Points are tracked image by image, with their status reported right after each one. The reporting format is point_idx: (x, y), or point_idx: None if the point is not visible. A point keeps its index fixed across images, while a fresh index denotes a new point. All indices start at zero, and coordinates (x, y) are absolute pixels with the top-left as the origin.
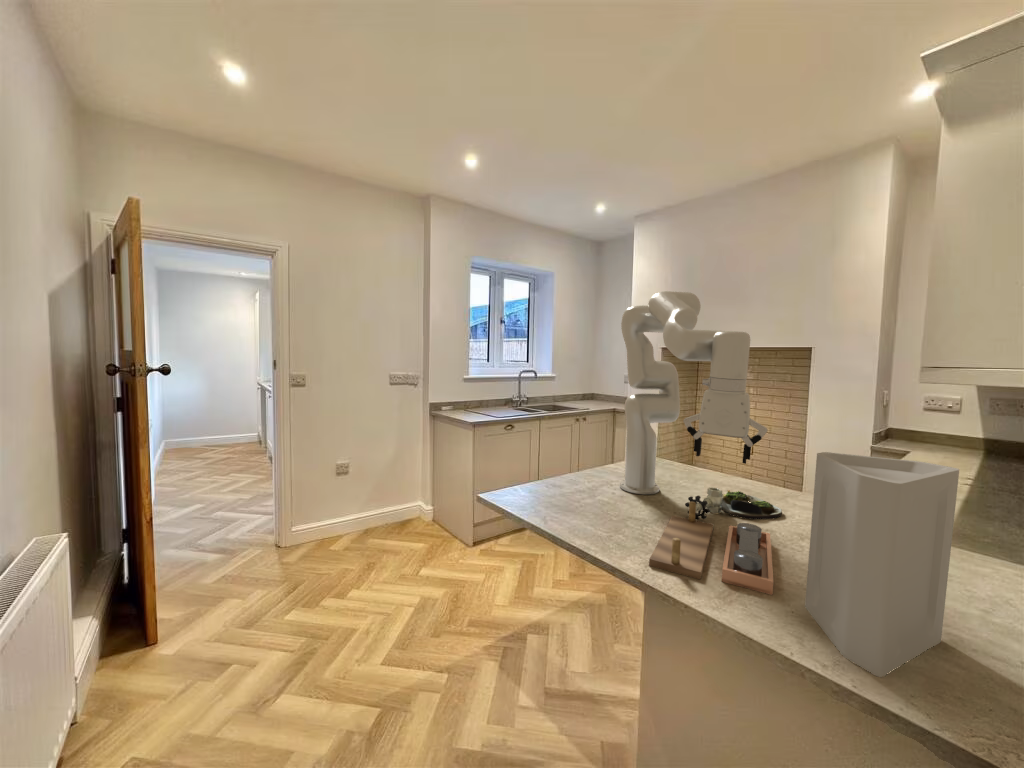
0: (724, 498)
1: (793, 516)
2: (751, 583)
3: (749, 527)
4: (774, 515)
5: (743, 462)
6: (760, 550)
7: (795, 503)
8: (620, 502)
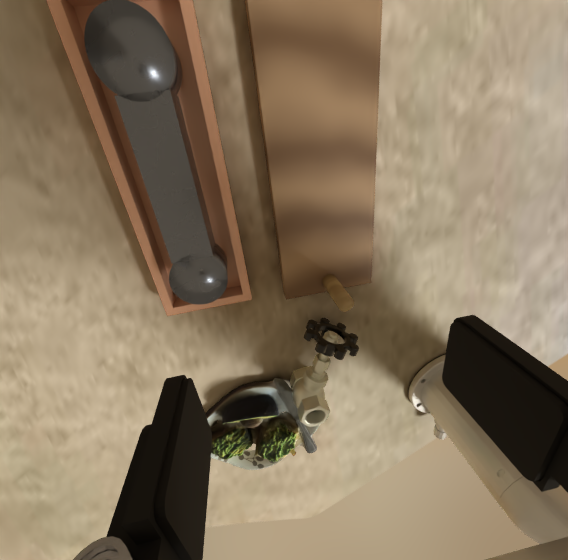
0: (295, 427)
1: None
2: None
3: (198, 279)
4: None
5: (181, 376)
6: None
7: None
8: (473, 294)
